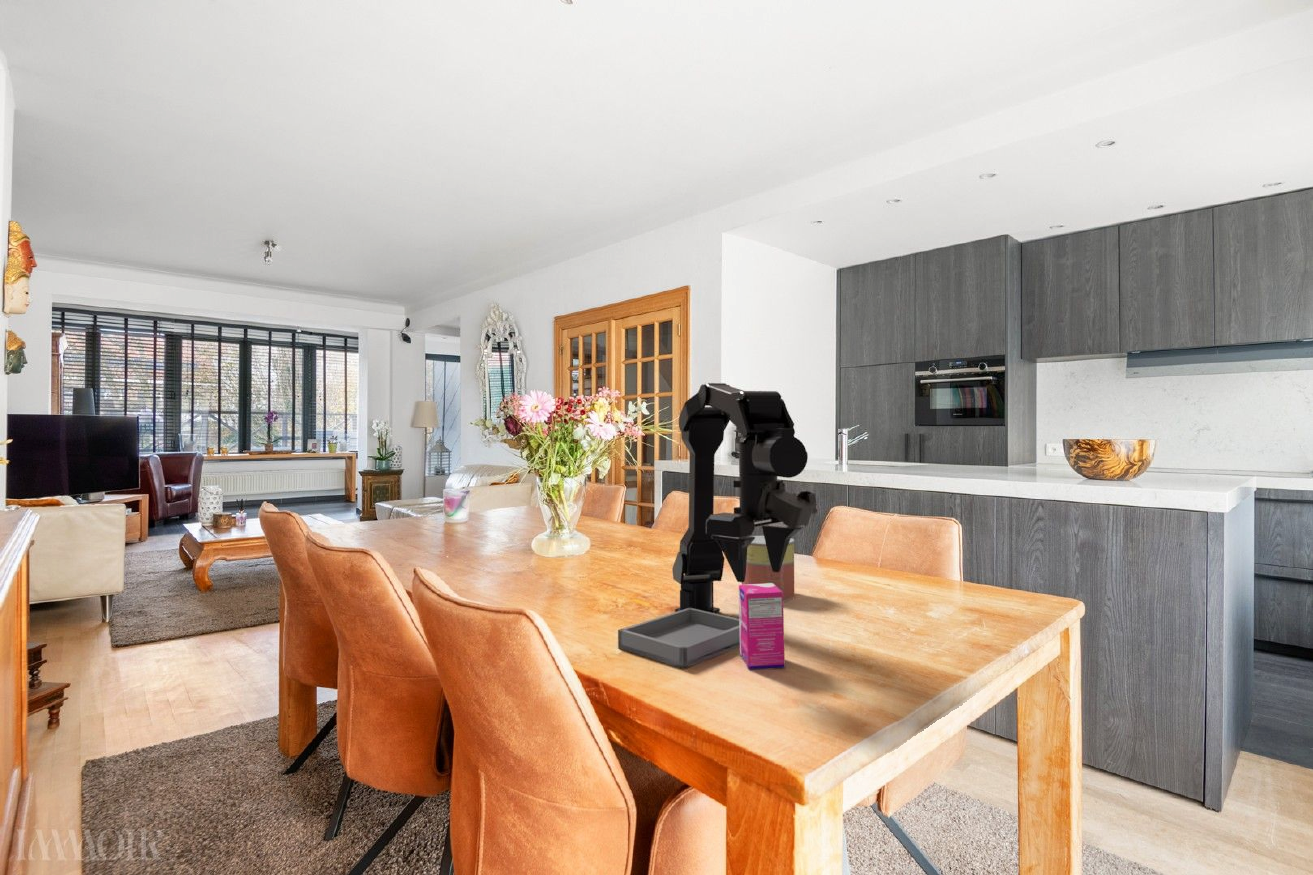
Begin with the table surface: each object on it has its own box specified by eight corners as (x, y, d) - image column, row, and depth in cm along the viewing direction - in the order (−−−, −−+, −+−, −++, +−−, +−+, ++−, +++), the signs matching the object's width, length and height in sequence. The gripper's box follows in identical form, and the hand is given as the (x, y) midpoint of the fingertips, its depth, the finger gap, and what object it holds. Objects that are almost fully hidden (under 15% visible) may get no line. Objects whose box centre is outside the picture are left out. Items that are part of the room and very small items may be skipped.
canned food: (756, 586, 148) (755, 533, 148) (803, 593, 142) (803, 538, 141) (731, 597, 139) (731, 540, 139) (780, 605, 132) (780, 545, 132)
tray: (689, 623, 120) (689, 607, 120) (753, 640, 110) (753, 622, 110) (618, 648, 107) (618, 629, 107) (683, 669, 97) (683, 648, 97)
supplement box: (738, 656, 102) (737, 583, 102) (775, 655, 103) (775, 582, 103) (746, 670, 97) (746, 592, 96) (786, 668, 97) (785, 591, 97)
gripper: (767, 479, 87) (768, 597, 87) (837, 472, 101) (838, 574, 101) (702, 476, 95) (703, 584, 95) (775, 470, 108) (776, 564, 108)
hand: (759, 576), depth 99 cm, fingers open, 9 cm apart
